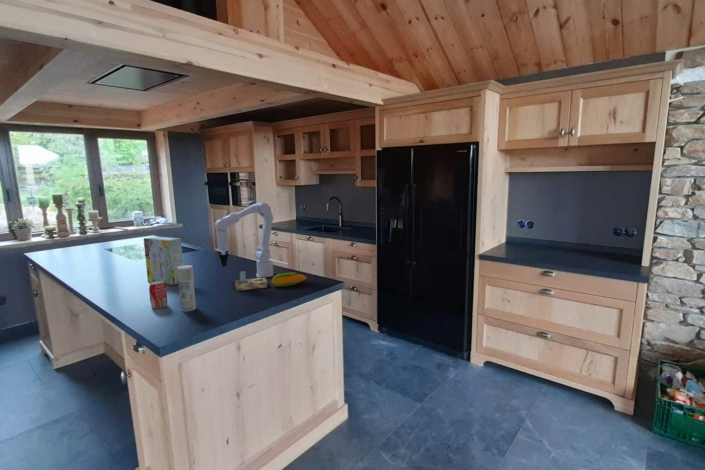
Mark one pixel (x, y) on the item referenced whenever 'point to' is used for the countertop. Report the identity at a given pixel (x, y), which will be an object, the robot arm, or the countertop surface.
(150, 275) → the snack box
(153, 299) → the soda can
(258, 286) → the hole block
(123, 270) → the countertop surface
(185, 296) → the spray can
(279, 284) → the corn
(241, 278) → the peg
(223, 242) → the robot arm
